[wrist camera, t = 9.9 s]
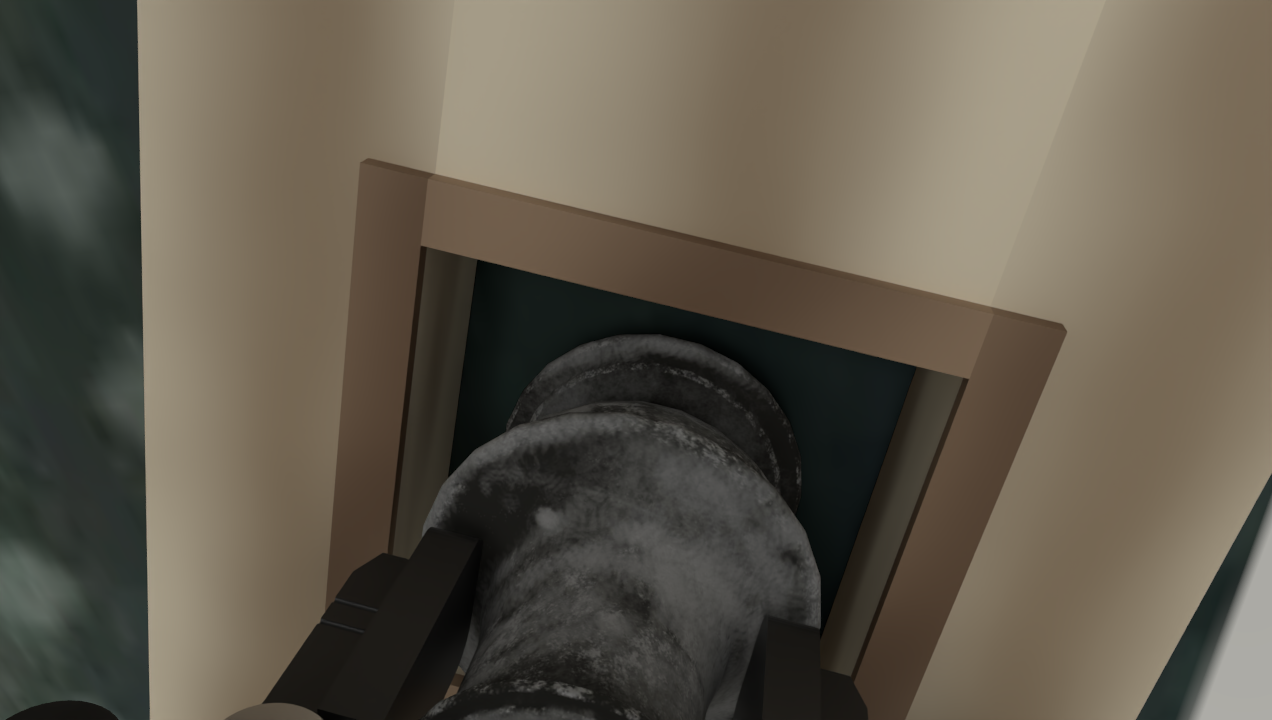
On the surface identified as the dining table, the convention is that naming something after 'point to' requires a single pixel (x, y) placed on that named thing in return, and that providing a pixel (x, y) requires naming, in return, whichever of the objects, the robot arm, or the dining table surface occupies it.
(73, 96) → the dining table surface
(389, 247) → the birch frame
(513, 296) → the dining table surface
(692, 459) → the dark grey tall piece
